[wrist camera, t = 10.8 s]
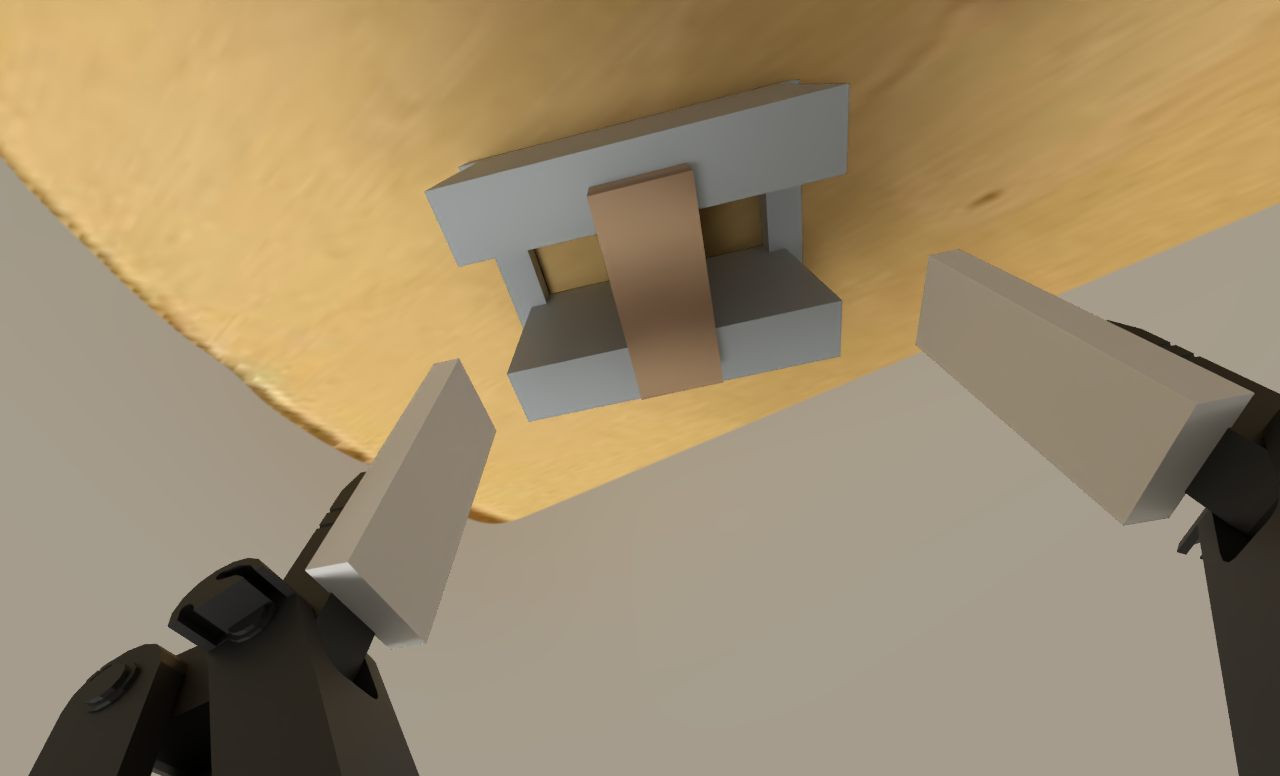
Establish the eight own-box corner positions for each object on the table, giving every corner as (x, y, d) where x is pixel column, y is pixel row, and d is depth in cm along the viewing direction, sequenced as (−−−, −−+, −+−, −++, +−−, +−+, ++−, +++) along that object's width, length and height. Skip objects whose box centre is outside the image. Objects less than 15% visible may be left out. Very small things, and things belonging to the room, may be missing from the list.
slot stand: (466, 163, 25) (399, 198, 17) (789, 79, 24) (878, 75, 16) (535, 340, 31) (510, 425, 24) (795, 282, 30) (861, 351, 22)
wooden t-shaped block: (593, 160, 24) (583, 197, 16) (666, 141, 24) (695, 169, 16) (631, 312, 29) (639, 400, 21) (693, 298, 29) (725, 381, 21)
